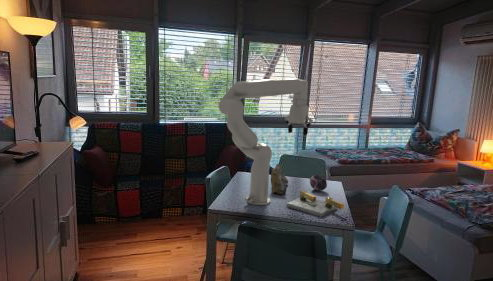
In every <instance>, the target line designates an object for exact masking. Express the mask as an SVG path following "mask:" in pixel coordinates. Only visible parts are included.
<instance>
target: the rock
mask: <svg viewBox="0 0 493 281" xmlns="http://www.w3.org/2000/svg"><path fill="white" fill-rule="evenodd" d="M270 184H271V194H273V193H276V194H279V195H285V194H286V193H287V185H288V184H289V180H288V178H287V176H285V175H284V172H283V167H282V166H281V164H279V163H277V164H276V165H275V167H274V168H271V173H270Z"/></svg>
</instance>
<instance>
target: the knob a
mask: <svg viewBox="0 0 493 281" xmlns="http://www.w3.org/2000/svg"><path fill="white" fill-rule="evenodd" d="M299 198H300V199H308V200H310V201H312V202H316V199H317V196H315V195H313V194H311V193H309V192H307V190H300V192H299Z"/></svg>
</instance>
